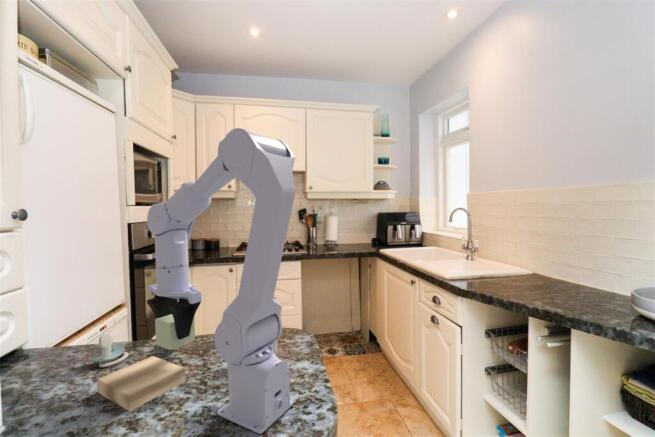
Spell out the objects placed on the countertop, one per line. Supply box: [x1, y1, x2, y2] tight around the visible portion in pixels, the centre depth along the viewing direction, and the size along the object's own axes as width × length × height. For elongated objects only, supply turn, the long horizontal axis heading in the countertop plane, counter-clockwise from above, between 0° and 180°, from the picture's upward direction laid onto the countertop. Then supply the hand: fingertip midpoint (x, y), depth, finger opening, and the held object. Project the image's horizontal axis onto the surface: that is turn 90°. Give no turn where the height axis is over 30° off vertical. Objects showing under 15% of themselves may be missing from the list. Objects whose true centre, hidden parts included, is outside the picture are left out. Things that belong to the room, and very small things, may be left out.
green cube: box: [154, 314, 196, 351], centre depth 59 cm, size 5×5×5 cm
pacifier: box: [87, 332, 130, 368], centre depth 67 cm, size 7×6×6 cm
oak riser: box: [97, 355, 186, 412], centre depth 56 cm, size 11×10×3 cm
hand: (175, 334), depth 59 cm, fingers closed on green cube, 5 cm apart
